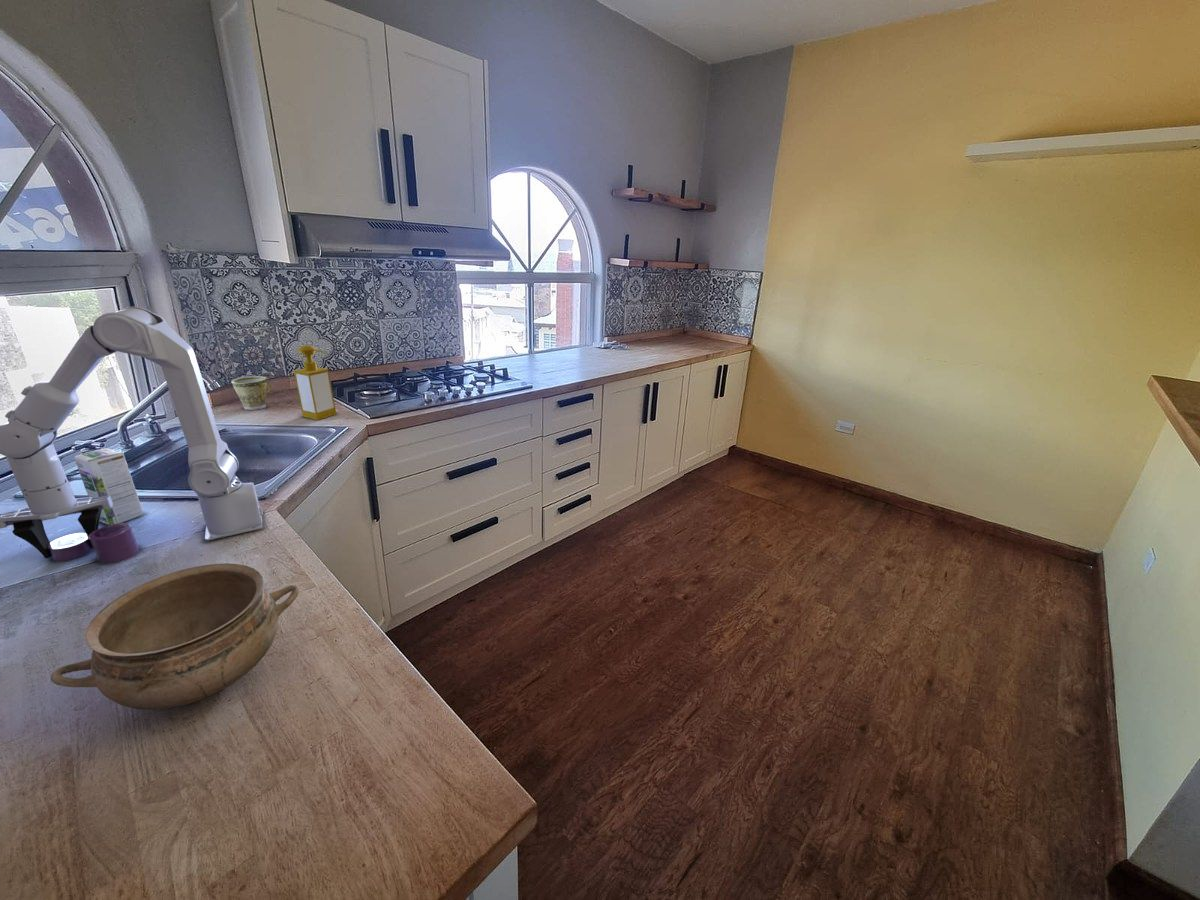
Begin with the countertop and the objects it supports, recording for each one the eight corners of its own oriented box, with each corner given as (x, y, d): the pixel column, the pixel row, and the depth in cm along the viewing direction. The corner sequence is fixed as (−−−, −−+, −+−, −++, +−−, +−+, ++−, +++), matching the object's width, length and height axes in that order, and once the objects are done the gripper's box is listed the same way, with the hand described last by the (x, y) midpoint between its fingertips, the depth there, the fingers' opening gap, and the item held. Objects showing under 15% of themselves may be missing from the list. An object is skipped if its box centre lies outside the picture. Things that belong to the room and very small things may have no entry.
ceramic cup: (230, 410, 171) (223, 381, 168) (254, 402, 180) (247, 375, 177) (264, 413, 169) (257, 384, 166) (286, 405, 179) (280, 377, 175)
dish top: (97, 541, 96) (93, 529, 96) (91, 555, 92) (86, 543, 91) (57, 549, 94) (52, 537, 93) (48, 564, 89) (42, 552, 88)
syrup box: (95, 521, 103) (70, 456, 98) (129, 508, 108) (107, 446, 103) (112, 527, 101) (87, 461, 96) (146, 514, 106) (124, 451, 101)
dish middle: (136, 531, 95) (132, 520, 94) (132, 545, 91) (127, 533, 90) (97, 539, 92) (92, 528, 91) (90, 554, 88) (85, 542, 87)
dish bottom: (141, 543, 96) (136, 531, 95) (136, 557, 92) (132, 545, 91) (101, 551, 93) (97, 539, 92) (95, 566, 89) (90, 554, 88)
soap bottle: (328, 422, 163) (315, 350, 154) (302, 416, 168) (288, 346, 159) (347, 416, 169) (335, 346, 160) (322, 410, 174) (309, 342, 165)
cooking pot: (293, 602, 82) (277, 538, 77) (328, 671, 69) (311, 599, 64) (80, 682, 66) (44, 608, 61) (74, 791, 53) (28, 707, 49)
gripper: (-26, 503, 81) (8, 573, 86) (95, 484, 88) (120, 549, 93) (-10, 487, 86) (22, 553, 91) (104, 470, 94) (127, 532, 99)
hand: (73, 550), depth 93 cm, fingers closed on dish top, 5 cm apart
